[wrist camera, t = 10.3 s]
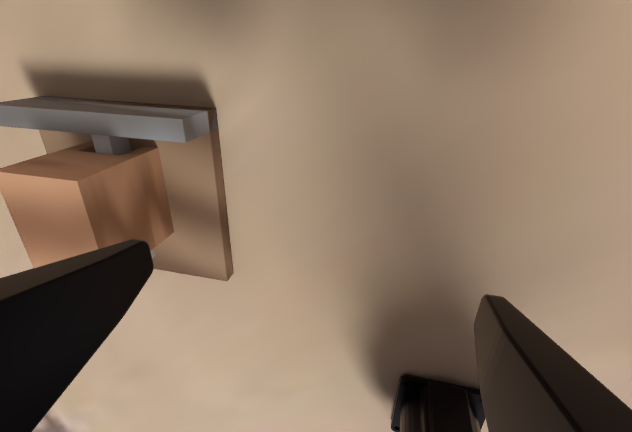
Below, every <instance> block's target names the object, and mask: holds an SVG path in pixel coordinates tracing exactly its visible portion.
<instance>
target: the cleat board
mask: <svg viewBox="0 0 632 432" xmlns="http://www.w3.org/2000/svg"><path fill="white" fill-rule="evenodd" d="M0 126H6V127H17V128H28V129H39V132H40V135H41V137H42V140H43V143H44V146H45V149H46V152H47V154H49V153H53V152H56V151H59V150H63V149H66V148H69V147H72V146H76V145H79V144H82V143H86V142H89V141H93V144H94V147H95V151H96V153H103V154H113V155H123V154H125V153H128V152H131V151H133V150H136V149H138V148H141V147H144V146H146V147H156V148H158V150H159V155H160V160H161V165H162V170H163V176H164V181H165V186H166V191H167V197H168V202H169V207H170V212H171V218H172V223H173V228H174V233H172V234H171V235H170V236H169V237H167V238H166V239H165V240H164V241H162V242H161V243H160V244H159V245H157V246H156V247H155V248H154V249H153V250H151V256H152V260H153V264H154V268H153V269H159V270H165V271H171V272H176V273H182V274H188V275H194V276H200V277H205V278H211V279H217V280H223V281H228V280H229V278H230V277H231V276H232V274H233V266H232V256H231V247H230V237H229V228H228V218H227V209H226V199H225V190H224V181H223V171H222V162H221V152H220V143H219V133H218V124H217V114H216V108H207V107H192V106H177V105H163V104H148V103H133V102H118V101H104V100H89V99H74V98H60V97H45V96H42V97H34V98H27V99H20V100H13V101H6V102H0Z"/></svg>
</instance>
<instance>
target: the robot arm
mask: <svg viewBox="0 0 632 432" xmlns="http://www.w3.org/2000/svg"><path fill="white" fill-rule="evenodd" d="M153 268H154V264H153V260H152V256H151V251H150V247H149V244H148V243H147V242H146V241H143V240H136V239H131V240H127V241H124V242H121V243H117V244H114V245H111V246H107V247H104V248H100V249H97V250H94V251H90V252H87V253H84V254H80V255H77V256H74V257H70V258H67V259H64V260H60V261H57V262H53V263H50V264H47V265H43V266H40V267H37V268H33V269H30V270H27V271H23V272H20V273H17V274H13V275H10V276H6V277H3V278H0V432H32V431H33V430H34V429H35V427H36V426H37V425H38V423H39V422H40V421H41V420H42V418H43V417H44V416H45V415H46V413H47V412H48V411H49V410H50V408H51V407H52V406H53V405H54V403H55V402H56V401H57V400H58V398H59V397H60V396H61V395H62V393H63V392H64V391H65V390H66V388H67V387H68V386H69V385H70V383H71V382H72V381H73V380H74V378H75V377H76V376H77V375H78V373H79V372H80V371H81V370H82V368H83V367H84V366H85V364H86V363H87V362H88V361H89V359H90V358H91V357H92V356H93V354H94V353H95V352H96V351H97V349H98V348H99V347H100V346H101V344H102V343H103V342H104V341H105V339H106V338H107V337H108V336H109V334H110V333H111V332H112V331H113V329H114V328H115V327H116V326H117V324H118V323H119V322H120V320H121V319H122V318H123V316H124V315H125V313H126V312H127V311H128V309H129V308H130V306H131V304H132V303H133V301H134V300H135V298H136V297H137V295H138V294H139V292H140V291H141V289H142V288H143V286H144V285H145V283H146V282H147V280H148V278H149V277H150V275H151V274H152V272H153ZM474 334H475V345H476V355H477V365H478V376H479V385H480V390H477V389H472V388H467V387H462V386H457V385H453V384H448V383H443V382H438V381H433V380H428V379H424V378H419V377H414V376H409V375H403V376H401V377H400V381H399V386H398V391H397V396H396V401H395V406H394V411H393V416H392V421H391V429H392V430H393V431H395V432H481V431H480V430H481V428H482V425H483V423H484V420H485V418H486V421H487V426H488V430H489V432H632V410H631V409H630V408H629V407H628V406H627V405H626V404H625V403H623V402H622V401H621V400H620V399H619V398H618V397H617V396H615V395H614V394H613V393H612V392H611V391H610V390H609V389H607V388H606V387H605V386H604V385H603V384H602V383H601V382H600V381H598V380H597V379H596V378H595V377H594V376H593V375H592V374H590V373H589V372H588V371H587V370H586V369H585V368H584V367H582V366H581V365H580V364H579V363H578V362H577V361H576V360H574V359H573V358H572V357H571V356H570V355H569V354H568V353H567V352H565V351H564V350H563V349H562V348H561V347H560V346H559V345H557V344H556V343H555V342H554V341H553V340H552V339H551V338H549V337H548V336H547V335H546V334H545V333H544V332H543V331H542V330H540V329H539V328H538V327H537V326H536V325H535V324H534V323H532V322H531V321H530V320H529V319H528V318H527V317H526V316H524V315H523V314H522V313H521V312H520V311H519V310H518V309H516V308H515V307H514V306H513V305H512V304H511V303H510V302H509V301H507V300H506V299H505V298H504V297H501V296H494V295H488V294H486V295H484V296H483V297H482V299H481V302H480V306H479V309H478V312H477V315H476V318H475V323H474Z"/></svg>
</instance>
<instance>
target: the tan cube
mask: <svg viewBox="0 0 632 432" xmlns="http://www.w3.org/2000/svg"><path fill="white" fill-rule="evenodd" d="M0 191H1V193H2V195H3V198H4V200H5V202H6V205H7V207H8V209H9V212H10V214H11V216H12V219H13V221H14V223H15V226H16V228H17V230H18V233H19V235H20V237H21V240H22V242H23V244H24V247H25V249H26V251H27V254H28V256H29V258H30V261H31V263H32V265H33V268H37V267H40V266H43V265H47V264H50V263H53V262H57V261H60V260H64V259H67V258H70V257H74V256H77V255H80V254H84V253H87V252H90V251H94V250H97V249H100V248H104V247H107V246H111V245H114V244H117V243H121V242H124V241H127V240H131V239H136V240H143V241H146V242H147V243H148V244H149V247H150V251H151V250H153V249H154V248H155V247H156V246H157V245H159V244H160V243H161V242H162V241H164V240H165V239H166V238H167V237H169V236H170V235H171V234H172V233H174V228H173V223H172V218H171V212H170V207H169V202H168V197H167V191H166V186H165V181H164V176H163V170H162V165H161V160H160V155H159V150H158V148H156V147H146V146H144V147H141V148H138V149H136V150H133V151H131V152H128V153H125V154H123V155H113V154H103V153H96V151H95V147H94V144H93V141H89V142H86V143H82V144H79V145H76V146H72V147H69V148H66V149H63V150H59V151H56V152H53V153H49V154H46V155H43V156H40V157H36V158H33V159H30V160H26V161H23V162H20V163H17V164H13V165H10V166H7V167H3V168H0Z"/></svg>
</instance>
